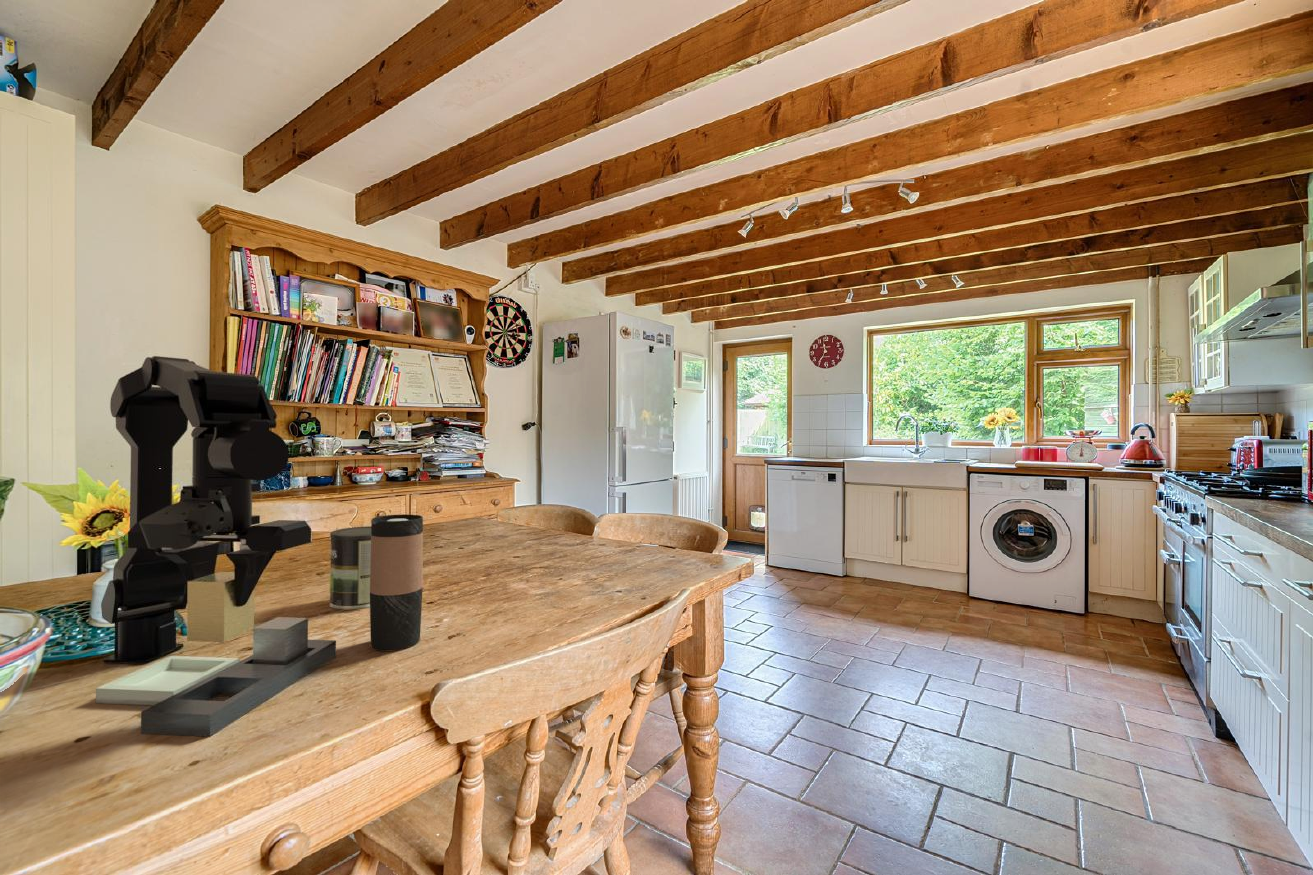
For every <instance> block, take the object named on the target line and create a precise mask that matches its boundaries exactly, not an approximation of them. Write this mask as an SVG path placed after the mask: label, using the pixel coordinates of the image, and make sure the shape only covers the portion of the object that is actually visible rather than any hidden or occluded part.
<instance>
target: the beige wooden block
mask: <svg viewBox="0 0 1313 875" xmlns="http://www.w3.org/2000/svg"><path fill="white" fill-rule="evenodd" d="M186 609H187V611H186V612H187V616H186V617H187V618H186V621H187V622H186V625H187V626H186V628H187V629H186V639H187V640H186V641H187V642H203V643H204V642H208V643H209V642H210V643H225V642H226V643H227V641H230V640H232V639H235V638H237V637H239V636H241V635H244V634H245V633H248V632H249V631H253V629H254V628H255V589H254V590H253V592H252V594H251V596H250V598H249V599H248V601H247V603H246V604H245V605H243V606H241V607H237V606H236V601H235V576H234V571H218V572H215V573H214V574H211V575H207V576H204V577H201V578H197V579H194V580H190V581H188V597H187V606H186Z"/></svg>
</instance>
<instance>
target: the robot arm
mask: <svg viewBox="0 0 1313 875" xmlns="http://www.w3.org/2000/svg"><path fill="white" fill-rule="evenodd" d="M260 382H261V381H260V380H259V379H258V377H257V376H256V375H255V374H248V373H247V374H245V373H234V372H223V371H222V372H221V371H213V370H211V369H208V368H206V367H204V366H201V365H198V364H196V362H195V361H193V360H189V358H179V357H171V356H170V357H169V356H160V355H159V356H158V355H153V356H152V357H150V356H148V357H146V358H145V359H144V361H143V363H142V366H141V367H139V368H137V369H135V370H133V371H131V372H129V373H127V374H125V375H124V376H121V377H120V378H118V380H117V382H116V385H115V387H114V389H113V391H112V394H111V395H110V396H111V397H110V400H109V401H110V402H109V404H110V405H109V408H110V414H111V416H112V418H115V428H116V430H117V431H118V433H119V434H120V435H121V437H122V438H123V439H124V441H126V443H128V445H129V446H130V483H129V484H130V487H129V488H130V489H129V490H130V491H129V530H128V531H127V549H126V550H125V551H124V553H123V554H122V555H121V557H120V558H119V559H118V560H117V561H116V563H115V564H114V566H113V573H112V580H109V581H108V583H107V586H106V590H105V591H104V594H103V597H102V599H101V602H100V608H101V610H100V612H101V618H102V619H103V620H104V621H106V622H107V623H108V624H110V625H112V624H113V625H114V634H113V636H114V637H113V638H114V640H113V641H114V642H113V643H114V648H113V649H114V652H113V653H114V654H111V655H109V656H105V657H104V658H103V659H102V662H103V663H115V664H140V665H141V664H147V663H150V662H151V661H154V660H156V659H159V658H160V657H161V658H162V657H163V656H166V655H168V654H170V653H173V652H175V651H178V650H180V649H183V648H184V646H185V645H184V643H177V621H176V620H175V611H179V610H180V611H181V610H186V609H187V597H188V581H190V580H194V579H197V578H201V577H204V576H207V575H211V574H214V573H216V566H217V560H218V559H217V558H218V553H219V548H220V542H223V543H224V542H225V543H226V542H228V543H230V542H232V543H240V544H239V550H235V551H230V552H227V553H225V556H226V557H227V558H228V559H229V560H230V561H231V562H232V565H233V566H234V570H233V572H234V576H235V601H236V606H237V607H241V606H243V605H245V604H246V603H247V601H248V599H249V598H250V596H251V594H252V592H253V590H254V591H255V588H256V586H257V584H258V582H259V580H260V578H261V577H262V574H263V573H264V571H265V569H266V568H267V566H268V565H269V564H270V562H271V560H272V559H273V557H274V555H275V554H276V553H277V552H282V551H284V550H285V551H286V550H288V549H293V548H296V547H299V546H303V545H306V544H309V543H310V544H311V543H312V528H311V526H310V525H309V523H308V522H307V521H306V520H299V519H298V520H296V519H295V520H293V519H291V520H290V519H289V520H288V519H280V520H279V519H277V520H273V521H268V522H264V523H261V515H259V514H258V515H257V514H256V515H255V514H253V492H261V481H267V480H271V479H272V478H275V477H277V476H278V475H279V474H280V473H282V471H283V470H284V469H285V467H286V466H287V464H288V462H289V458H290V450H289V448H288V446H287V444H286V442H285V440H284V438H282V437H281V436H280V435H279V434H277V433H275V432H273V431H272V430H270V429H276V428H277V423H276V422H277V421H276V420H277V417H278V416H277V412H276V411H275V409H274V407H273V405H272V402H271V401H270V399H269V397H268V395H267V392H266V390H265V387H264V386H263V384H260ZM189 424H190V425H191V427H192V428H193V429H192V430H191V434H190V436H191V437H192V473H191V474H192V476H191V477H192V478H191V479H192V480H191V482H192V484H191V485H183V486H182V489H181V490H180V494H179V495H180V496H179V501H178V502H176V503H173V462H174V460H173V459H174V456H173V455H174V447H175V446H176V444H177V443H178V442H179V440H180V439H181V438H182V437H183V436H184V435H185V434H186V432H187V431H188V428H189V427H188V426H189ZM159 468H161V469H159ZM253 481H260V482H253Z"/></svg>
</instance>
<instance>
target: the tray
mask: <svg viewBox="0 0 1313 875" xmlns="http://www.w3.org/2000/svg"><path fill="white" fill-rule="evenodd" d="M240 661H241V660H240V658H239V657H217V656H216V657H213V656H212V657H211V656H210V657H208V656H186V655H185V656H184V655H183V656H182V655H170V656H167V657H166V658H163V659H161V660H158V661H155V662H154V663H151V664H149V665H147V666H144V667H142V668H140V669H137V670H135V671H133V672H131V673H128V674H126V675H123V676H122V677H119V678H117V679H114V680H112V681H110V682H107V683H105V684H103V685H100V686H98V687H96V688H95V703H96V704H108V705H110V704H111V705H112V704H113V705H132V706H133V705H134V706H135V705H137V706H154V705H156V704H157V703H159V702H161V701H163V700H165V699H167V698H169V697H171V696H173V695H175V694H177V693H179V692H181V691H183V690H185V689H187V688H189V687H191V686H193V685H195V684H197V683H199V682H201V681H203V680H204V679H206V678H208V677H210V676H212V675H214V674H216V673H218V672H220V671H222V670H224V669H226V668H228V667H230V666H232V665H234V664H236V663H238V662H240Z"/></svg>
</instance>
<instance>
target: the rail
mask: <svg viewBox="0 0 1313 875" xmlns="http://www.w3.org/2000/svg"><path fill="white" fill-rule="evenodd" d="M336 657H337V640H332V639H308V653H307V654H305V655H303V656H302V657H300V658H298V659H296V660H295V661H293V662H291V663H289V664H288V665H265V664H253V654H251V655H250V656H248V657H246V658H244V659H242V660H240V662H238V663H236V664H234V665H232V666H230V667H228V668H226V669H224V670H222V671H220V672H218V673H216V674H214V675H212V676H210V677H208V678H206V679H204V680H203V681H201V682H199V683H197V684H195V685H193V686H191V687H189V688H187V689H185V690H183V691H181V692H179V693H177V694H175V695H173V696H171V697H169V698H167V699H165V700H163V701H161V702H159V703H157V704H156V705H151V706H150V707H148V708H146V709H144V710H142V711H140V734H143V735H144V734H147V735H149V734H150V735H165V736H166V735H168V736H169V735H171V736H187V737H188V736H191V737H192V736H193V737H209V738H210V737H212V736H213V735H215V734H216V733H219V731H221V730H223V729H224V728H226V727H228V726H229V725H231V724H232V723H234V722H236V721H238V719H240V718H241V717H243V716H245V715H246V714H248V713H250V712H252V710H254V709H256V708H257V707H259V706H260V705H262V704H263V703H265V702H267V701H268V700H270V699H271V698H273V697H274V696H276V695H277V694H280V692H282V691H284V690H286V689H287V688H289V687H290V686H291V685H294V683H297V682H298V681H299V680H301V679H302V678H305V677H306V676H307V675H309V674H311V673H312V672H314V671H315V670H317V669H319V668H320V667H322V666H323V665H325V664H326V663H328V662H330V661H331V660H332V659H333V660H334V658H336ZM218 696H220V697H221V696H223V697H229V698H227V699H226V700H212V699H215V698H216V697H218Z"/></svg>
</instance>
